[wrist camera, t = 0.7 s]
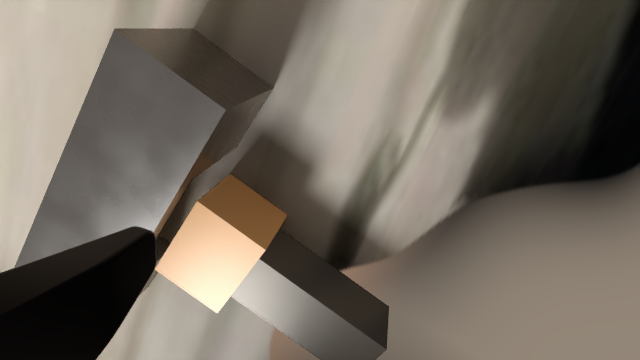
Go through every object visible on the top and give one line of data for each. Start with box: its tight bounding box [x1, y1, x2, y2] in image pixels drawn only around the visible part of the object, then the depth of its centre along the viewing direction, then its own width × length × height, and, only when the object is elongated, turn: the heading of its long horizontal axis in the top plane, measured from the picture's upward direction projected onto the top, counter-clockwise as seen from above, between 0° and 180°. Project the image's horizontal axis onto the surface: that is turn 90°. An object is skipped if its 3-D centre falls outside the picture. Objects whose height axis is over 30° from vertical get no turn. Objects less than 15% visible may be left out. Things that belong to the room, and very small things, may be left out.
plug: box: [155, 174, 389, 360], centre depth 22 cm, size 5×12×4 cm, turn 55°
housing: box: [14, 29, 273, 294], centre depth 21 cm, size 16×5×6 cm, turn 145°
